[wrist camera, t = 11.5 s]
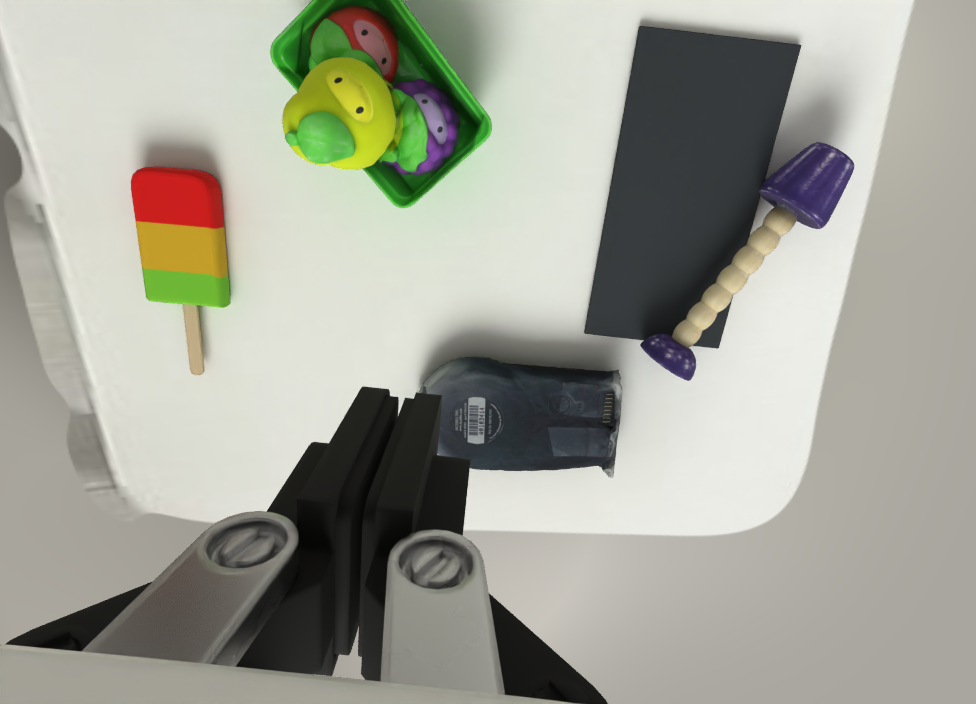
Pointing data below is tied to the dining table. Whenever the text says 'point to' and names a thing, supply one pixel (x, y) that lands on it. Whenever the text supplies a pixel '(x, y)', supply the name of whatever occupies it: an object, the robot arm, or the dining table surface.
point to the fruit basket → (375, 96)
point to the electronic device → (527, 415)
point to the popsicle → (182, 244)
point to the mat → (685, 176)
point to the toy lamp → (760, 244)
